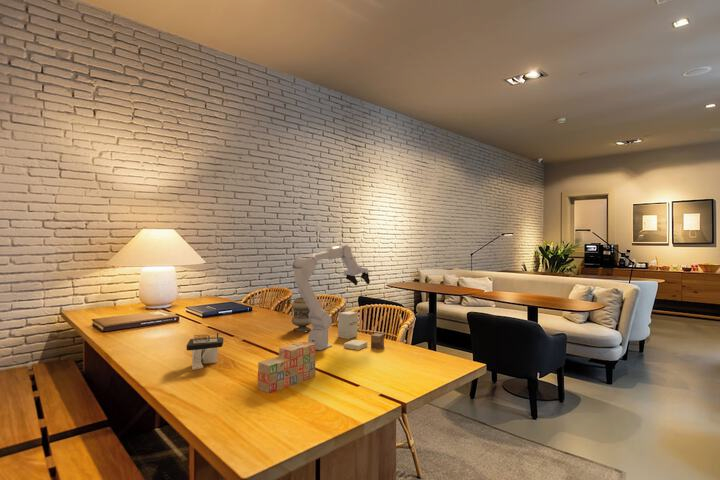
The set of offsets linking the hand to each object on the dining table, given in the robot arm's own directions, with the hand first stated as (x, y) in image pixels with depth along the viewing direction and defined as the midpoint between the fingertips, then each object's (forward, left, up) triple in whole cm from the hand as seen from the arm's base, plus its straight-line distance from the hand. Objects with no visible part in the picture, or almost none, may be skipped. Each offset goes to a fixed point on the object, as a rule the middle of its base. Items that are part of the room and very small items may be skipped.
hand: (362, 283), depth 208 cm
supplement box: (-5, +6, -28) cm, 29 cm away
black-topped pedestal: (-76, +27, -28) cm, 85 cm away
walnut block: (-14, -17, -28) cm, 36 cm away
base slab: (-19, -8, -28) cm, 35 cm away
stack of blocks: (-72, -13, -28) cm, 78 cm away
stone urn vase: (-7, +35, -28) cm, 45 cm away
